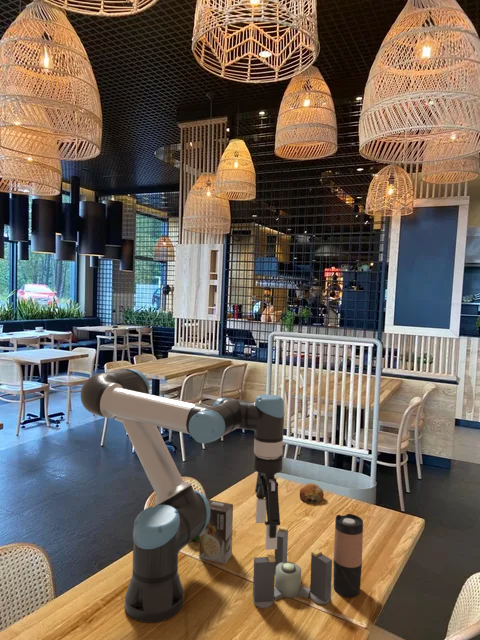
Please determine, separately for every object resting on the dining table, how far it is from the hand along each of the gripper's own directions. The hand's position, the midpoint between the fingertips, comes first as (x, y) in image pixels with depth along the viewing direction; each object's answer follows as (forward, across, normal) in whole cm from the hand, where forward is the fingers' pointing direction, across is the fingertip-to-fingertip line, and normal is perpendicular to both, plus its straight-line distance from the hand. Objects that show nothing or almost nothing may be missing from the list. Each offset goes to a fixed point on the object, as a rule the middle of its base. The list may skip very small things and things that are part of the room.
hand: (265, 534), depth 117 cm
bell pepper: (+18, +34, +16) cm, 42 cm away
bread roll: (+19, +62, -32) cm, 72 cm away
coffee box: (+18, +23, +11) cm, 31 cm away
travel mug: (+18, +3, -24) cm, 31 cm away
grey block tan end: (+18, +14, -8) cm, 24 cm away
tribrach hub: (+18, +4, -8) cm, 20 cm away
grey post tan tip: (+18, 0, -16) cm, 24 cm away
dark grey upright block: (+18, 0, 0) cm, 18 cm away
